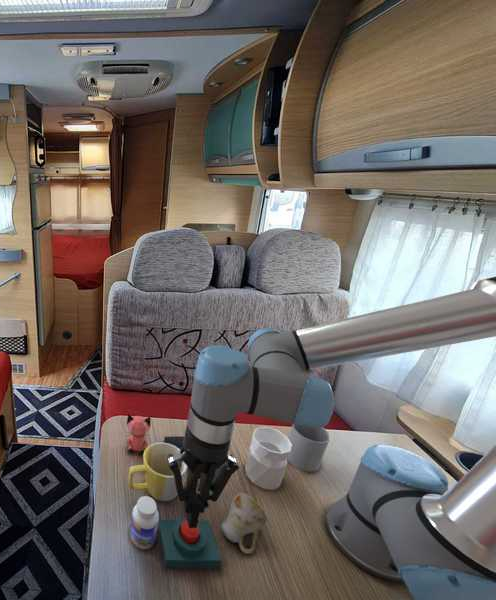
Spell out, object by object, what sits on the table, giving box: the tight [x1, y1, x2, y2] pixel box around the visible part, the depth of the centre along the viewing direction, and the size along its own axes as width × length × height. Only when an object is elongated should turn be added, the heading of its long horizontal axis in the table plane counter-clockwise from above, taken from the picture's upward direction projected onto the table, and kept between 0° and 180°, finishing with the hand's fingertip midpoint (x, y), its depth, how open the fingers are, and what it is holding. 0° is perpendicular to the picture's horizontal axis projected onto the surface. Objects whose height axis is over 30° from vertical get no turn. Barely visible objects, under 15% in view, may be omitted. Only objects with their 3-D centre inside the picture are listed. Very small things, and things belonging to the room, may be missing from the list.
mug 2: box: [221, 492, 268, 555], centre depth 71 cm, size 8×10×10 cm
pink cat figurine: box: [126, 413, 151, 456], centre depth 90 cm, size 7×7×12 cm
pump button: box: [180, 520, 199, 544], centre depth 67 cm, size 4×4×2 cm
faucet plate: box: [163, 435, 184, 450], centre depth 91 cm, size 12×11×3 cm
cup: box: [287, 424, 331, 473], centre depth 89 cm, size 8×8×10 cm
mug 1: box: [127, 442, 188, 502], centre depth 79 cm, size 14×10×10 cm
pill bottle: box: [130, 495, 160, 550], centre depth 69 cm, size 5×5×10 cm
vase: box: [244, 426, 292, 491], centre depth 83 cm, size 9×9×12 cm
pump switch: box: [157, 517, 222, 568], centre depth 68 cm, size 11×8×4 cm
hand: (191, 521), depth 66 cm, fingers closed
